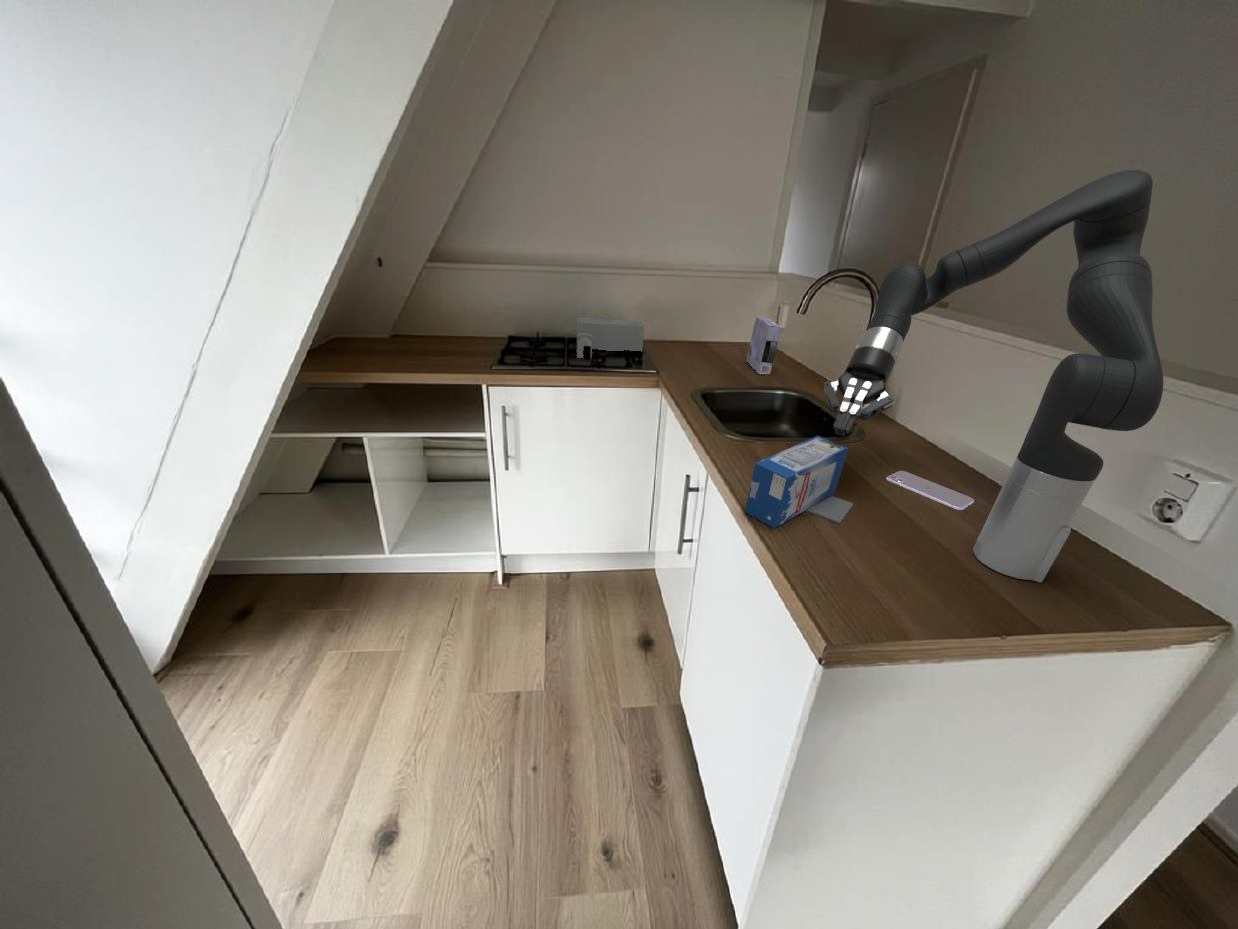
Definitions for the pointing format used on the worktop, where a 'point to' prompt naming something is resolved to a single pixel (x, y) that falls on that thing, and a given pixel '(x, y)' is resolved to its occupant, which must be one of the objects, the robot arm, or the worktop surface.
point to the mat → (831, 509)
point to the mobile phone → (931, 490)
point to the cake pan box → (763, 345)
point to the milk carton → (794, 480)
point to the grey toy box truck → (608, 335)
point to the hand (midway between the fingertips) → (839, 433)
